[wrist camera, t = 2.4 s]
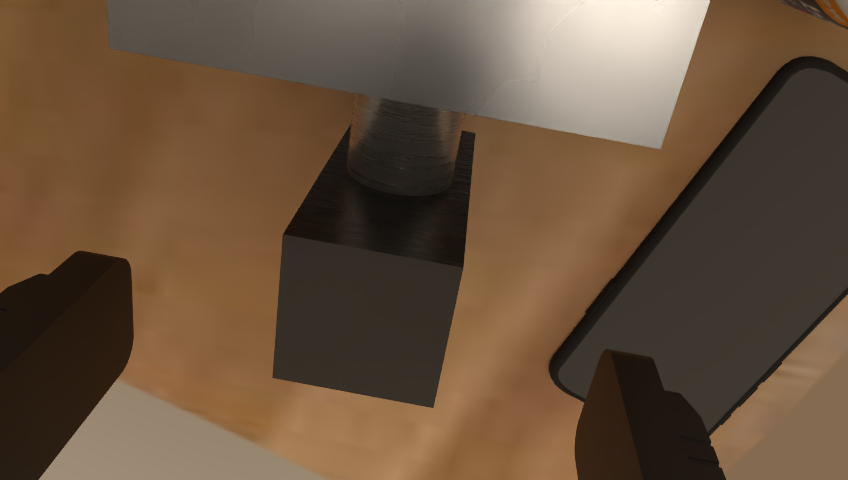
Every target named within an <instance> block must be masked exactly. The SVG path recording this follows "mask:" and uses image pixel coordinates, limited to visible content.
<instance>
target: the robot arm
mask: <svg viewBox="0 0 848 480" xmlns="http://www.w3.org/2000/svg"><path fill="white" fill-rule="evenodd" d="M133 338H134V332H133V305H132V278H131V267H130V264H129V262H128V261H127V260H126V259H124V258H119V257H113V256H108V255H102V254H97V253H91V252H86V251H77V252H75V253H74V254H73V255H71V256H70V257H69V258H68V259H67V260H66V261H64V262H63V263H62V264H61V265H60V266H58V267H57V268H56V269H55V270H54V271H53V272H51V273H50V274H49V275H46V274H38V275H35V276H33V277H31V278H28V279H26V280H24V281H21V282H19V283H17V284H14V285H12V286H9V287H8V288H6V289H5V290H4V291H3V292H1V293H0V480H38V479H39V478H40V477H41V476H42V474H43V473H44V472H45V471H46V469H47V468H48V467H49V465H50V464H51V463H52V462H53V460H54V459H55V458H56V456H57V455H58V454H59V453H60V451H61V450H62V449H63V448H64V446H65V445H66V444H67V442H68V441H69V440H70V438H71V437H72V436H73V435H74V433H75V432H76V431H77V429H78V428H79V427H80V426H81V424H82V423H83V422H84V421H85V419H86V418H87V416H88V415H89V414H90V413H91V412H92V410H93V409H94V408H95V406H96V405H97V404H98V402H99V401H100V400H101V399H102V397H103V396H104V395H105V394H106V392H107V391H108V390H109V388H110V387H111V386H112V385H113V383H114V382H115V381H116V379H117V378H118V377H119V376H120V374H121V373H122V372H123V370H124V368H125V366H126V364H127V362H128V360H129V357H130V354H131V350H132V346H133ZM575 461H576V468H577V475H578V480H726V478H725V476H724V473H723V470H722V468H720V467H719V460H718V458H717V455H716V453H715V450H714V448H713V447H712V446H711V440H710V438H709V435H708V433H707V430H706V428H705V425H704V423H703V420H702V418H701V416H700V415H699V414H698V413H697V412H696V410H695V409H694V408H693V407H692V406H691V405H690V404H689V403H688V401H687V400H686V399H685V398H684V397H683V396H682V395H681V394H680V393H677V392H672V391H666V390H664V388H663V385H662V382H661V379H660V376H659V373H658V370H657V368H656V365H655V362H654V360H653V358H651V357H649V356H643V355H638V354H633V353H627V352H622V351H616V350H611V349H605V350H604V351H603V353H602V354H601V356H600V359H599V361H598V364H597V367H596V370H595V373H594V376H593V379H592V382H591V385H590V388H589V391H588V394H587V397H586V400H585V403H584V406H583V409H582V412H581V415H580V418H579V421H578V425H577V430H576V437H575Z"/></svg>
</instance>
